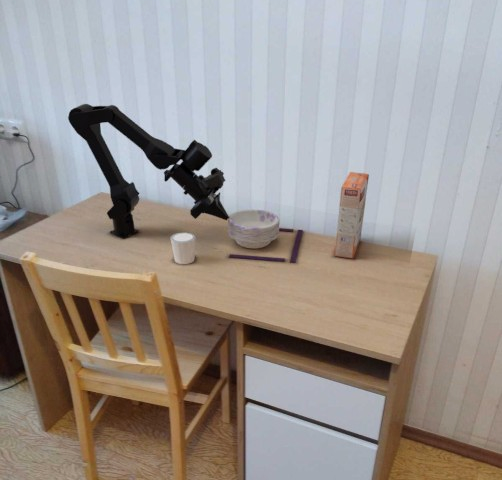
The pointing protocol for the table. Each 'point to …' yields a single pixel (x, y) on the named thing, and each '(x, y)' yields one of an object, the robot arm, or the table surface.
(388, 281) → the table surface
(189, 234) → the shot glass
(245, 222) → the paper bowls
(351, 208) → the cracker box
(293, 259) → the frame
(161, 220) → the table surface
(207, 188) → the robot arm
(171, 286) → the table surface
